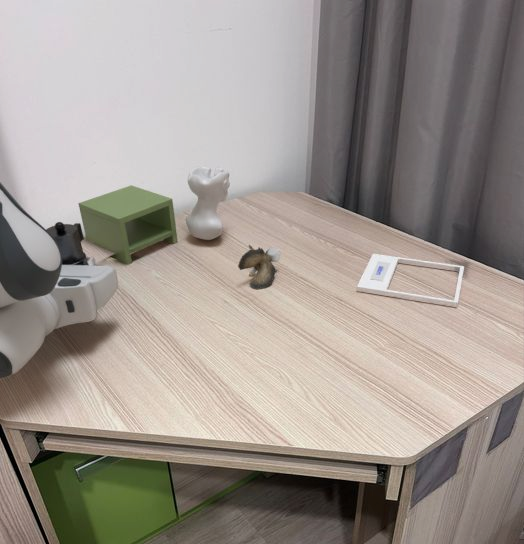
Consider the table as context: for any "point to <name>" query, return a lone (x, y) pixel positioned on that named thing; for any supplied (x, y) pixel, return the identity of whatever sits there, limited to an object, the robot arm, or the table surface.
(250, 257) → the eagle figurine
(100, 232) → the nightstand
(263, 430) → the table surface
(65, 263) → the coffee pot
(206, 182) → the white hourglass figure
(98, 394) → the table surface
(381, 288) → the photo frame
